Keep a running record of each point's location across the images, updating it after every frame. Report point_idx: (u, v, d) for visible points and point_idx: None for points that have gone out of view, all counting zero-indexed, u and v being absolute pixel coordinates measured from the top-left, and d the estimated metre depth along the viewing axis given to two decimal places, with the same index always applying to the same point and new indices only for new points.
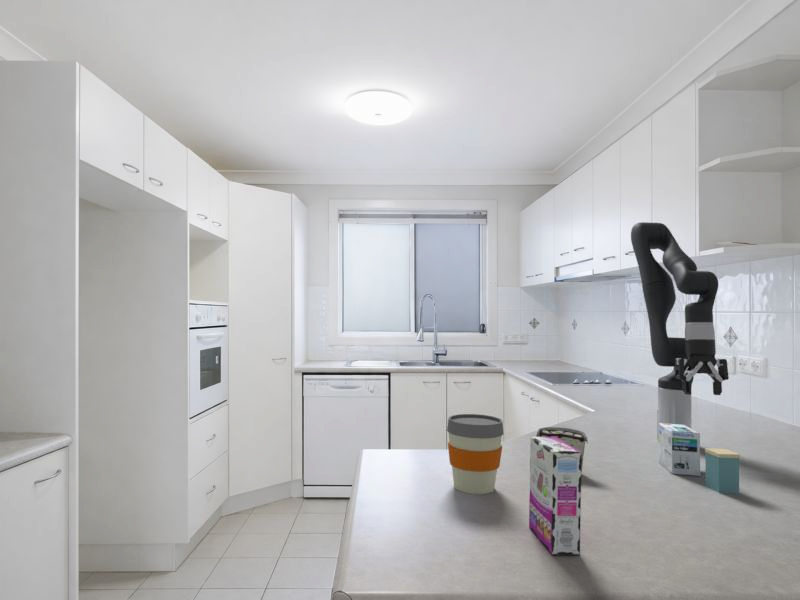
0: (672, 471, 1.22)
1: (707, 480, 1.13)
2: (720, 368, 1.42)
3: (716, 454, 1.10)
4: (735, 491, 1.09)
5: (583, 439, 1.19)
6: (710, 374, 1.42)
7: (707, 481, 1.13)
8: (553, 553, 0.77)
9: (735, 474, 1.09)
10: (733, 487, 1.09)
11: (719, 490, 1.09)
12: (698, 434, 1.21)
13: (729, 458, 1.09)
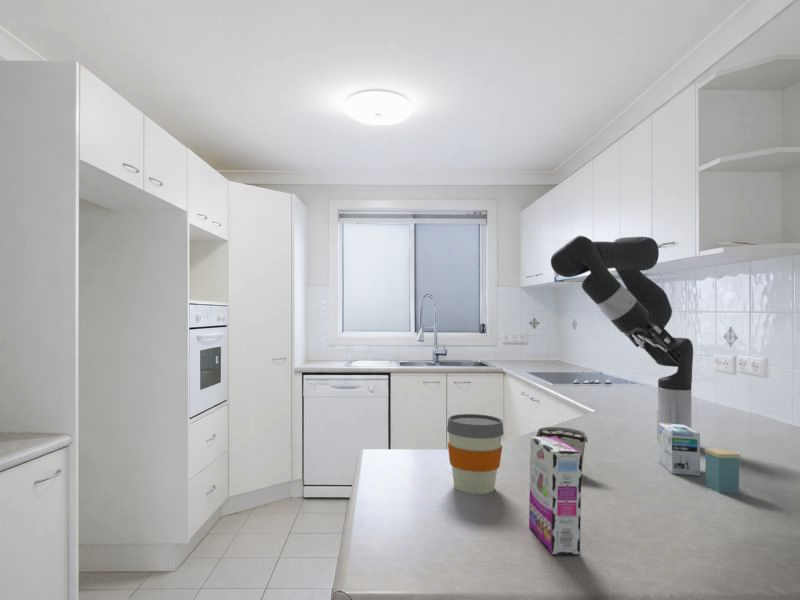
0: (672, 471, 1.22)
1: (707, 480, 1.13)
2: None
3: (716, 454, 1.10)
4: (735, 491, 1.09)
5: (583, 439, 1.19)
6: None
7: (707, 481, 1.13)
8: (553, 553, 0.77)
9: (735, 474, 1.09)
10: (733, 487, 1.09)
11: (719, 490, 1.09)
12: (698, 434, 1.21)
13: (729, 458, 1.09)
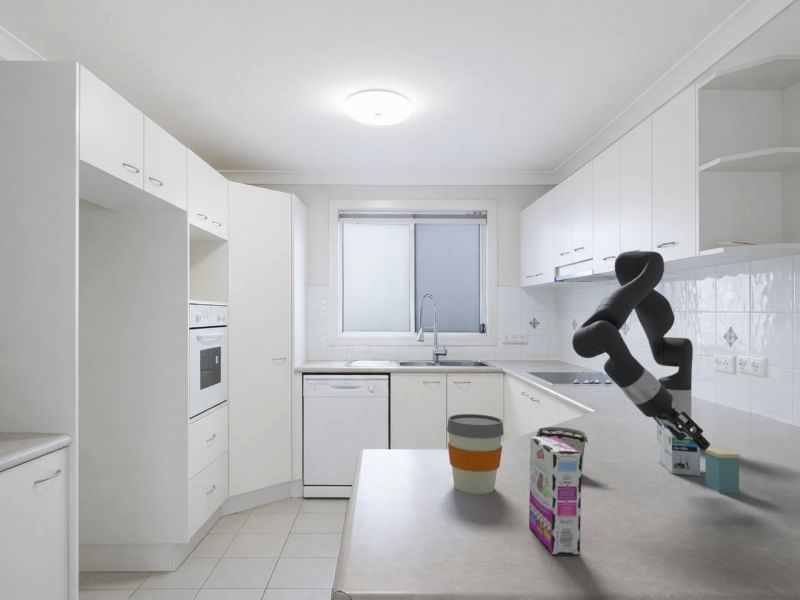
0: (672, 471, 1.22)
1: (707, 480, 1.13)
2: None
3: (716, 454, 1.10)
4: (735, 491, 1.09)
5: (583, 439, 1.19)
6: None
7: (707, 481, 1.13)
8: (553, 553, 0.77)
9: (735, 474, 1.09)
10: (733, 487, 1.09)
11: (719, 490, 1.09)
12: None
13: (729, 458, 1.09)
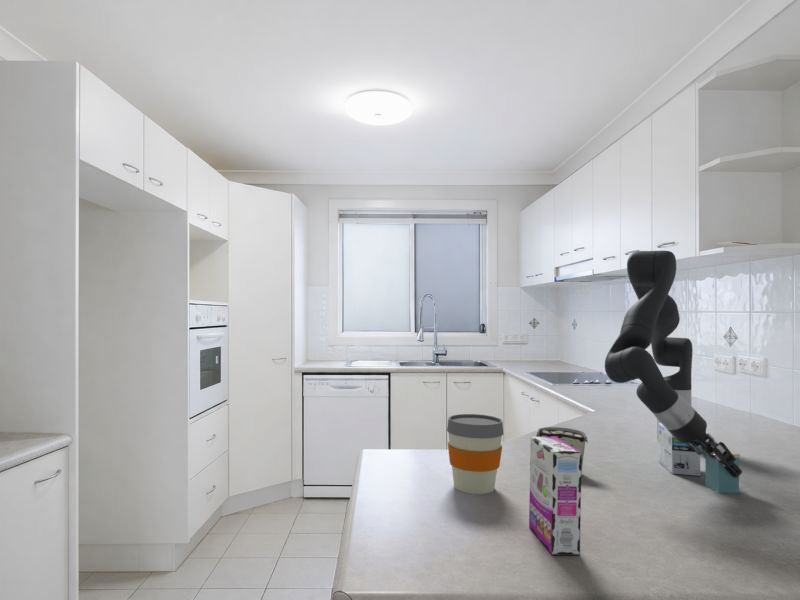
0: (672, 471, 1.22)
1: (707, 480, 1.13)
2: None
3: None
4: (735, 491, 1.09)
5: (583, 439, 1.19)
6: None
7: (707, 481, 1.13)
8: (553, 553, 0.77)
9: None
10: (733, 487, 1.09)
11: (719, 490, 1.09)
12: None
13: None
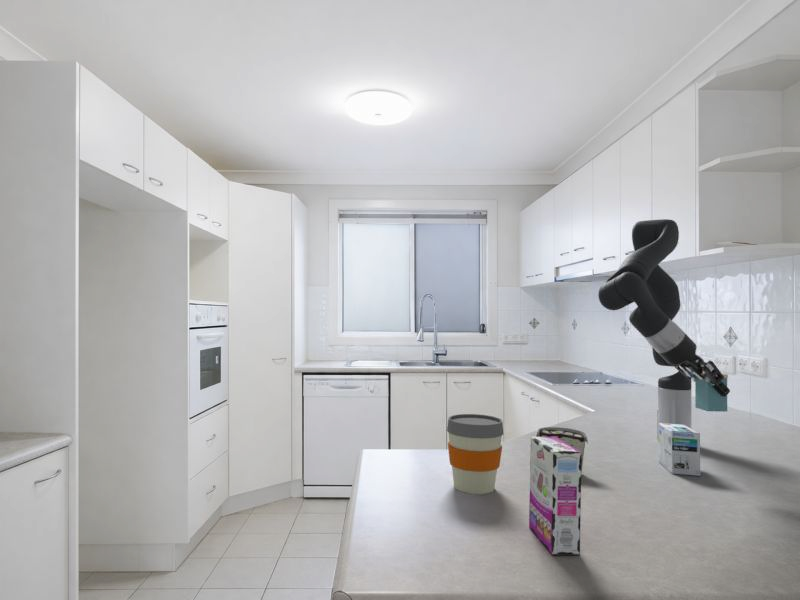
0: (672, 471, 1.22)
1: (697, 402, 1.17)
2: None
3: None
4: (723, 409, 1.14)
5: (583, 439, 1.19)
6: None
7: (697, 402, 1.17)
8: (553, 553, 0.77)
9: None
10: (721, 406, 1.14)
11: (708, 409, 1.14)
12: (698, 434, 1.21)
13: None
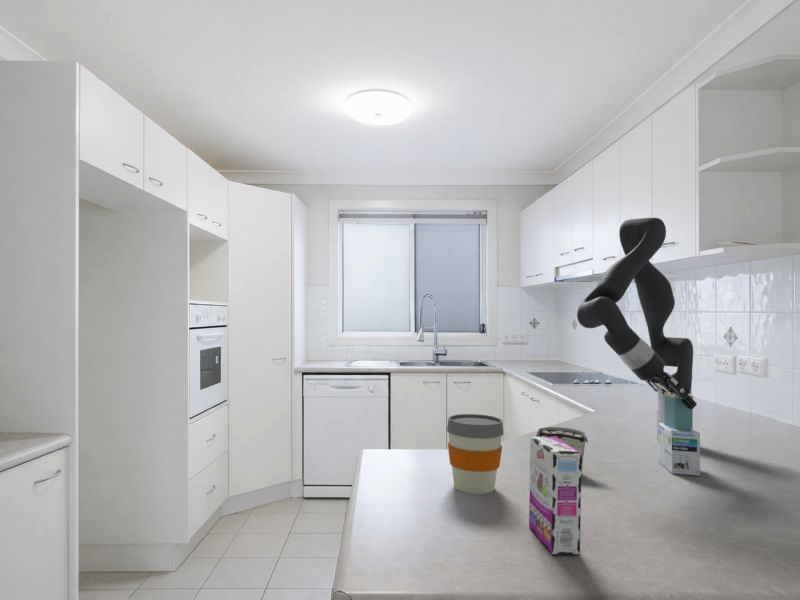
0: (672, 471, 1.22)
1: (666, 420, 1.28)
2: None
3: (673, 395, 1.25)
4: (689, 427, 1.24)
5: (583, 439, 1.19)
6: None
7: (666, 420, 1.28)
8: (553, 553, 0.77)
9: (689, 413, 1.24)
10: (687, 424, 1.24)
11: (675, 427, 1.24)
12: (698, 434, 1.21)
13: None
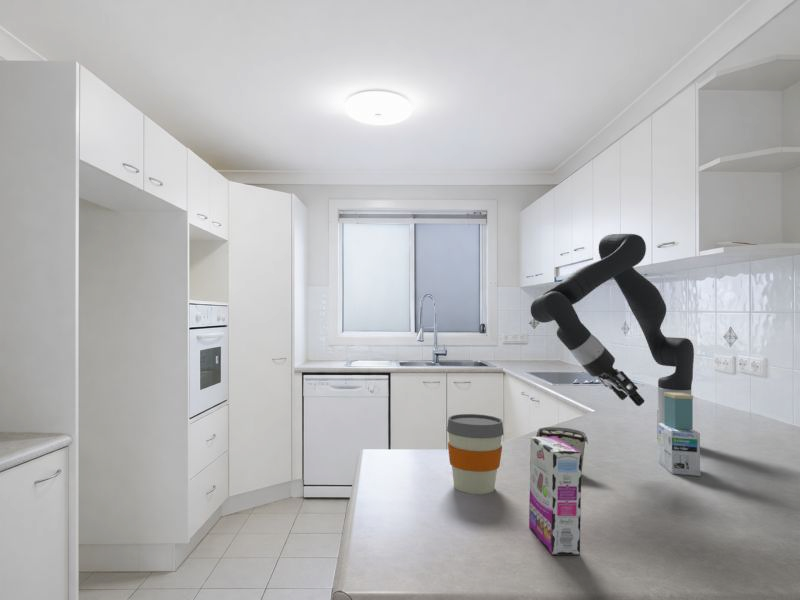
0: (672, 471, 1.22)
1: (666, 420, 1.28)
2: None
3: (673, 395, 1.25)
4: (689, 427, 1.24)
5: (583, 439, 1.19)
6: None
7: (666, 421, 1.28)
8: (553, 553, 0.77)
9: (689, 413, 1.24)
10: (687, 424, 1.24)
11: (675, 427, 1.24)
12: (698, 434, 1.21)
13: (684, 399, 1.24)
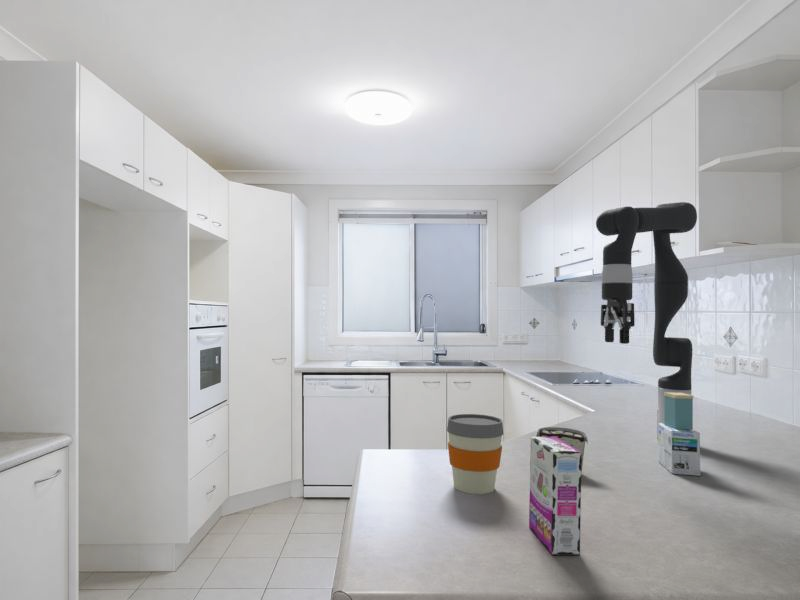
0: (672, 471, 1.22)
1: (666, 420, 1.28)
2: None
3: (673, 395, 1.25)
4: (689, 427, 1.24)
5: (583, 439, 1.19)
6: None
7: (666, 421, 1.28)
8: (553, 553, 0.77)
9: (689, 413, 1.24)
10: (687, 424, 1.24)
11: (675, 427, 1.24)
12: (698, 434, 1.21)
13: (684, 399, 1.24)
